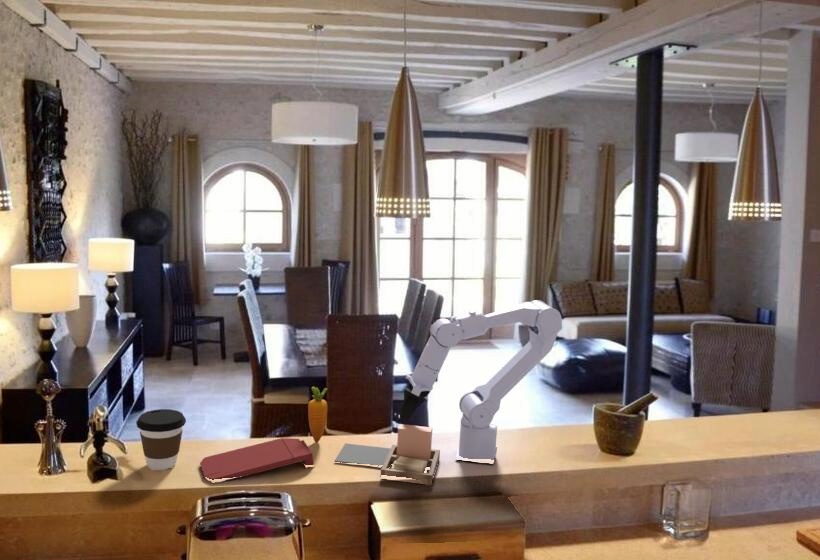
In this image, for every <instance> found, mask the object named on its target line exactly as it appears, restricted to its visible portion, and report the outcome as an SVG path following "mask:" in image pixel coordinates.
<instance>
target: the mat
mask: <svg viewBox="0 0 820 560" xmlns="http://www.w3.org/2000/svg"><path fill="white" fill-rule="evenodd" d="M390 449H391V447H389V448H388V447H381V446H371V445H364V444H354V443H347V442H346V443H344V444H343V446H342V448H341V450H340V451H339V452H338V454H337V456H336V457H335V459H334V462H340V463H341V462H342V463H357V464H370V465H378V466H379V465H383V464H384V462H385V460H386V457H387V455H388V453H389V451H390Z"/></svg>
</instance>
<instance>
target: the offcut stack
mask: <svg viewBox="0 0 820 560" xmlns="http://www.w3.org/2000/svg"><path fill="white" fill-rule="evenodd" d="M426 466H427V461H423V460H418V459H413V458H407V457H402V456H400V457H399V458H398V459H397V460H395V462H394V464H393V466H391V467H390V469H397V470H405V471H414V472H422V473H424V471H425V468H426Z"/></svg>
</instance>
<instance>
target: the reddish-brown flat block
mask: <svg viewBox="0 0 820 560" xmlns="http://www.w3.org/2000/svg"><path fill="white" fill-rule="evenodd" d="M313 456H314V455H313V452H312V450H311V449H310V448H309V446H308V444H307V443H306V442H305V440H304V439H303V440H300V438H288V437H287V438H286V437H281V438H277V439H272V440H269V441H264V442H260V443H257V444H252V445H249V446H248V445H247V446H245V447H241V448H237V449H233V450H229V451H226V452H225V451H224V452H221V453H217V454H213V455H210V456H206V457H205V456H204V457H203V458H202V460H201V461H200V462H199V465H201V466H200V469H201V468H202V469H201V472H202V471H203V472H202V474H203V473H204V475H203V477H204V476H205V477H207V478H209V479H212V480H214V479H222V478H233V477H239V478H241V477H240V476H243V477H246V476H251V475H253V474H258V473H262V472H265V471H269V470H272V469H273V470H274V469H276V468H281V467H285V466H288V465H291V464H296V463H298V462H302V461H303V463H304V464H305V465H313V464H315V462H314V457H313ZM303 463H302V464H303Z"/></svg>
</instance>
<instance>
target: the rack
mask: <svg viewBox="0 0 820 560" xmlns="http://www.w3.org/2000/svg"><path fill="white" fill-rule="evenodd" d="M390 448H391V449H390V451H389V453H388V455H387V457H386V460H385V462H384V464H383V466H382V468H380V476H381V475H387V476H396V477H406V478H412V479H416V480H421V481H422V482H423V483H424V484H425V485H424V486H429V487H430V486H431V487H432V486H433V483H432V479H433V476H434V473H435V470H436V471H437V469H436V467H437V468H438V466H437V464H438V465H439V462H440V453H441V450H440V449H433V448H431V459H426V458H417V457H408V456H402V457H407V458H413V459H418V460H423V461H427V466H426V467H430V470H428V473H422V472H414V471H405V470H397V469H391V467H390V465H391V464H394V462H395V460H397V459H398V458H399V457H400V456H399V455H397V444H392V445H391V447H390ZM438 461H439V462H438ZM389 467H390V469H388V468H389ZM435 474H436V473H435ZM434 477H435V476H434ZM433 480H434V479H433Z"/></svg>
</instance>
